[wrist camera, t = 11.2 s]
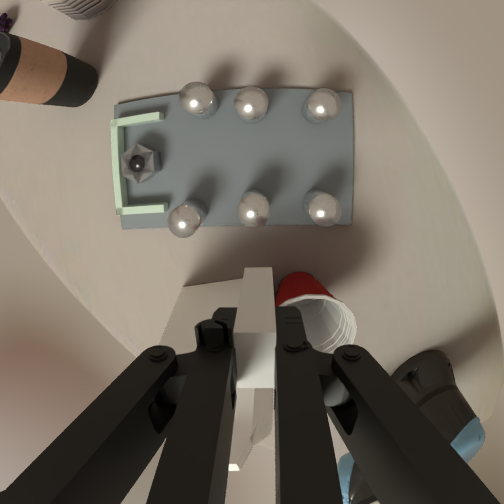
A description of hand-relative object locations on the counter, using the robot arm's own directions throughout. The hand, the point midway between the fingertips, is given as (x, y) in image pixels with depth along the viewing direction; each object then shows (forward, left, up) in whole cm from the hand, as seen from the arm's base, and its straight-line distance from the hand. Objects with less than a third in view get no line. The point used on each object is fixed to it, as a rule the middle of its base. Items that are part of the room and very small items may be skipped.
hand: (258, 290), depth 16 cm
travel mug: (+21, +27, -23) cm, 41 cm away
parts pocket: (+7, +16, -23) cm, 29 cm away
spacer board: (+7, +4, -23) cm, 25 cm away
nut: (+7, +15, -22) cm, 28 cm away
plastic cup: (-12, -5, -23) cm, 27 cm away
